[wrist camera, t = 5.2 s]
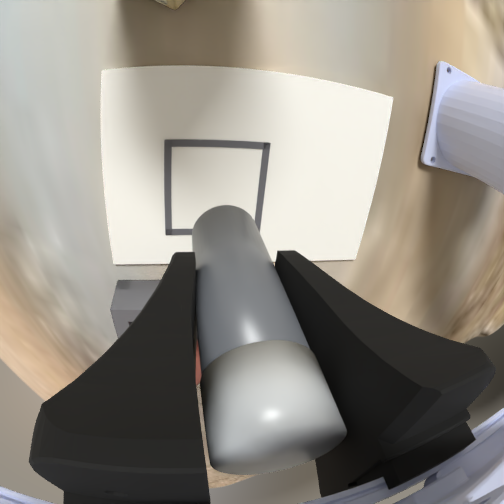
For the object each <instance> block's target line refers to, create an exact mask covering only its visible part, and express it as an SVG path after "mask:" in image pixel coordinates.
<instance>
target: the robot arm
mask: <svg viewBox="0 0 504 504" xmlns="http://www.w3.org/2000/svg"><path fill="white" fill-rule="evenodd" d="M447 69H448V72H447ZM431 158H432V160H431ZM421 162H422V163H424V164H425V165H428V166H433V167H437V168H441V169H445V170H449V171H453V172H457V173H461V174H464V175H468V176H472V177H475V178H477V179H479V180H480V181H482V182H484V183H486V184H487V185H489V186H491V187H493V188H494V189H496V190H498V191H499V192H501V193H503V194H504V89H503V88H499V87H495V86H491V85H487V84H482V83H480V82H479V81H477V80H476V79H474V78H472V77H471V76H469V75H467V74H466V73H464V72H462V71H461V70H459V69H457V68H455V67H453V66H452V65H450V64H448V63H446V62H443V61H439V62H438V63H437V68H436V76H435V83H434V90H433V97H432V103H431V109H430V115H429V120H428V125H427V131H426V135H425V140H424V145H423V149H422V154H421ZM275 269H276V271H277V273H278V276H279V278H280V280H281V283H282V285H283V287H284V289H285V292H286V294H287V296H288V299H289V301H290V303H291V306H292V308H293V310H294V313H295V315H296V317H297V320H298V322H299V324H300V327H301V329H302V331H303V334H304V336H305V338H306V341H307V343H308V345H309V348H310V350H311V351H312V352H313V353H314V354H315V356H316V359H317V361H318V363H319V366H320V368H321V370H322V373H323V375H324V377H325V380H326V382H327V384H328V387H329V389H330V391H331V394H332V396H333V399H334V401H335V403H336V406H337V408H338V410H339V413H340V415H341V418H342V420H343V422H344V425H345V427H346V430H347V434H346V437H345V438H344V439H343V441H342V442H341V443H340V444H338V445H337V446H336V447H335V448H333V449H332V450H330V451H329V452H327V453H326V454H324V455H322V456H320V457H318V458H316V459H315V461H316V467H317V474H318V480H319V488H320V494H321V497H322V498H319V499H315V500H311V501H307V502H304V503H299V504H375V503H377V502H380V501H382V500H384V499H386V498H389V497H391V496H393V495H395V494H397V493H400V492H402V491H404V490H406V489H408V488H410V487H412V486H414V485H416V484H418V483H419V482H421V481H423V480H425V479H426V481H425V483H424V487H423V488H422V489H421V490H419V491H417V492H415V493H413V494H411V495H409V496H408V497H406V498H404V499H402V500H400V501H398V502H396V503H394V504H504V408H503V409H501V410H500V411H498V412H497V413H496V414H494V415H493V416H492V417H490V418H489V419H487V420H486V421H485V422H483V423H482V424H480V425H479V426H477V427H476V428H475V429H473V430H470V428H469V426H468V425H467V423H466V421H467V420H469V419H470V414H469V412H468V411H467V409H466V408H467V407H468V406H469V405H470V404H471V403H472V402H473V401H474V400H475V399H476V398H477V397H478V396H479V395H480V394H481V392H482V391H483V390H484V389H485V388H486V386H488V384H489V383H490V382H491V380H492V378H493V377H494V374H495V371H496V369H495V366H494V364H493V363H492V362H491V360H490V359H489V358H488V356H487V355H486V354H485V353H484V351H483V350H482V349H481V348H478V347H475V346H470V345H467V344H463V343H459V342H456V341H452V340H449V339H446V338H443V337H440V336H437V335H435V334H432V333H429V332H427V331H424V330H422V329H419V328H417V327H415V326H412V325H410V324H408V323H406V322H404V321H402V320H399V319H397V318H395V317H393V316H392V315H390V314H388V313H386V312H384V311H382V310H381V309H379V308H377V307H375V306H374V305H372V304H370V303H369V302H367V301H365V300H364V299H362V298H361V297H359V296H358V295H356V294H355V293H353V292H352V291H350V290H349V289H347V288H346V287H344V286H343V285H341V284H340V283H339V282H337V281H336V280H335V279H333V278H332V277H331V276H329V275H328V274H327V273H325V272H324V271H323V270H321V269H320V268H319V267H317V266H316V265H315V264H313V263H312V262H311V261H309V260H308V259H307V258H305V257H304V256H303V255H301V254H300V253H298V252H297V251H295V250H284V251H277V256H276V262H275ZM196 344H197V320H196V258H195V252H175V253H174V254H173V255H172V258H171V261H170V263H169V265H168V267H167V270H166V271H165V273H164V275H163V277H162V279H161V281H160V282H159V284H158V286H157V288H156V289H155V291H154V292H153V294H152V296H151V297H150V298H149V300H148V301H147V303H146V304H145V306H144V307H143V309H142V310H141V312H140V313H139V314H138V316H137V317H136V318H135V320H134V321H133V322H132V323H131V325H130V326H129V327H128V328H127V329H126V331H125V332H124V333H123V334H122V335H121V336H120V337H119V338H118V340H117V341H116V342H115V343H114V344H113V345H112V346H111V347H110V348H109V349H108V350H107V351H106V352H105V353H104V354H103V355H102V356H101V357H100V358H99V359H98V360H97V361H96V362H95V363H94V364H92V365H91V366H90V367H89V368H88V369H87V370H86V371H85V372H84V373H82V374H81V375H80V376H79V377H78V378H77V379H75V380H74V381H73V382H72V383H70V384H69V385H68V386H66V387H65V388H64V389H62V390H61V391H59V392H58V393H57V394H55V395H54V396H53V397H51V398H50V399H48V400H47V401H45V402H44V403H43V404H42V405H41V409H40V412H39V414H38V417H37V420H36V423H35V428H34V432H33V438H32V444H31V451H30V457H29V463H30V465H31V466H32V468H33V469H34V471H35V472H37V473H38V474H39V475H40V476H42V477H43V478H45V479H46V480H47V481H49V482H51V483H52V484H54V485H55V486H57V487H58V488H60V489H62V490H63V491H64V504H210V495H209V487H208V478H207V470H206V463H205V455H204V448H203V440H202V432H201V424H200V416H199V407H198V398H197V389H196ZM0 504H56V503H52V502H48V501H44V500H41V499H37V498H34V497H31V496H27V495H24V494H21V493H18V492H15V491H13V490H10V489H7V488H4V487H2V486H0Z"/></svg>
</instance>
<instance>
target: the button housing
mask: <svg viewBox="0 0 504 504" xmlns="http://www.w3.org/2000/svg"><path fill="white" fill-rule="evenodd" d="M160 281H161V280H118V282H117V285H116V289H115V293H114V297H113V301H112V305H111V309H110V311H111V314H112V318H113V322H114V326H115V329H116V333H117V336H118V338H119V337H120V336H121V335H122V334H123V333H124V332H125V331H126V329H127V328H128V327H129V326H130V325H131V323H132V322H133V321H134V320H135V318H136V317H137V316H138V314H139V313H140V312H141V310H142V309H143V307H144V306H145V304H146V303H147V301H148V300H149V298H150V297H151V296H152V294H153V292H154V291H155V289H156V288H157V286H158V284H159V282H160ZM197 340H198V333H197Z"/></svg>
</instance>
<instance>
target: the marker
mask: <svg viewBox="0 0 504 504" xmlns="http://www.w3.org/2000/svg"><path fill="white" fill-rule="evenodd" d="M192 252H195V258H196V320H197V333H198V345H199V356H200V367H201V380H200V388H201V397H202V406H203V415H204V423H205V431H206V438H207V446H208V453H209V460H210V465H211V466H212V467H213V468H214V469H215V470H217V471H220V472H223V473H228V474H236V475H253V474H263V473H270V472H276V471H280V470H285V469H288V468H291V467H295V466H298V465H301V464H304V463H307V462H309V461H311V460H314V459H316V458H318V457H320V456H322V455H324V454H326V453H327V452H329V451H330V450H332V449H333V448H335V447H336V446H337V445H338V444H340V443H341V442H342V441H343V439H344V438H345V437H346V434H347V430H346V427H345V425H344V422H343V420H342V418H341V415H340V413H339V410H338V408H337V406H336V403H335V401H334V399H333V396H332V394H331V391H330V389H329V387H328V384H327V382H326V380H325V377H324V375H323V373H322V370H321V368H320V366H319V363H318V361H317V359H316V356H315V354H314V353H313V352H312V351H311V350H310V348H309V345H308V343H307V341H306V338H305V336H304V334H303V331H302V329H301V327H300V324H299V322H298V320H297V317H296V315H295V313H294V310H293V308H292V306H291V303H290V301H289V299H288V296H287V294H286V292H285V289H284V287H283V285H282V283H281V280H280V278H279V276H278V273H277V271H276V269H275V267H274V264H273V262H272V260H271V257H270V255H269V253H268V251H267V248H266V246H265V244H264V242H263V239H262V237H261V235H260V233H259V230H258V228H257V226H256V224H255V221H254V219H253V218H252V216H251V215H250V214H249V213H248V212H246V211H245V210H243V209H242V208H239V207H236V206H232V205H221V206H216V207H213V208H211V209H209V210H207V211H206V212H204V213H203V214H202V215H201V216H200V217H199V218H198V219H197V221H196V222H195V224H194V227H193V230H192Z"/></svg>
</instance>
